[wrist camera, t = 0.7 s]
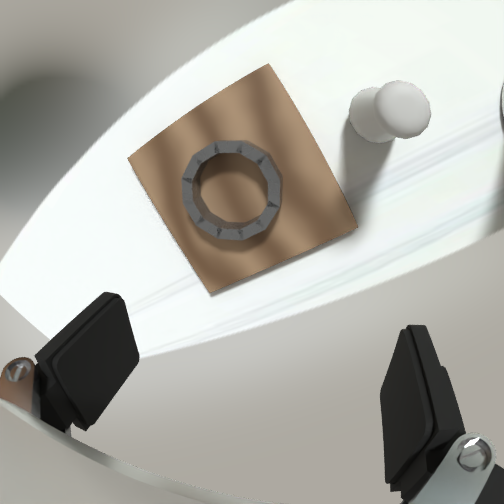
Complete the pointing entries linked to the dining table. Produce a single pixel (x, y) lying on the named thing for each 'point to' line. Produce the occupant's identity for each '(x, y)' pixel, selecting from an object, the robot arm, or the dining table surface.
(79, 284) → the dining table surface
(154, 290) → the dining table surface
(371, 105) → the salt shaker
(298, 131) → the board
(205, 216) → the collar
